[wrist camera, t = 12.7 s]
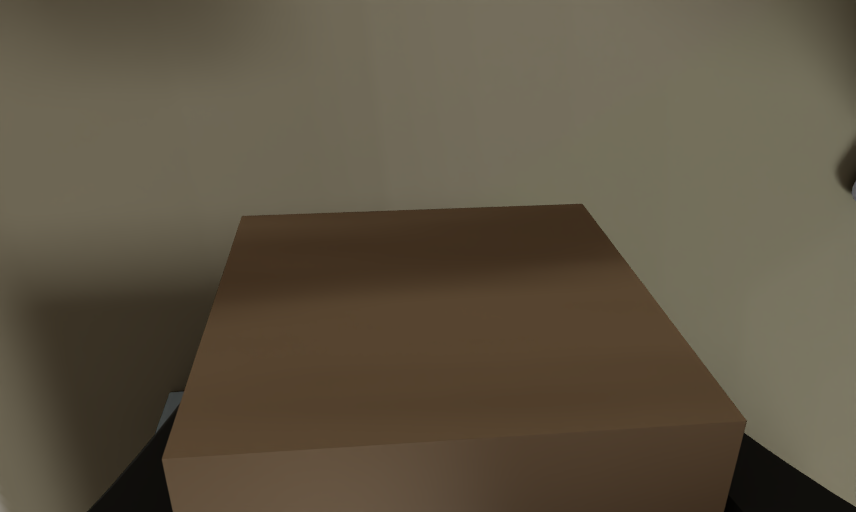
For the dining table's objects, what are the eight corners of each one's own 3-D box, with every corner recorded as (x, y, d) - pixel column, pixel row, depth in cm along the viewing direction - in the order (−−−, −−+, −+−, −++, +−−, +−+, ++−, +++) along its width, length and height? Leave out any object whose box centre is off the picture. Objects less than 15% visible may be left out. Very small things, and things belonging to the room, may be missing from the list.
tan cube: (241, 216, 10) (162, 458, 6) (582, 203, 11) (746, 421, 6) (274, 479, 13) (233, 799, 8) (554, 460, 13) (662, 753, 9)
